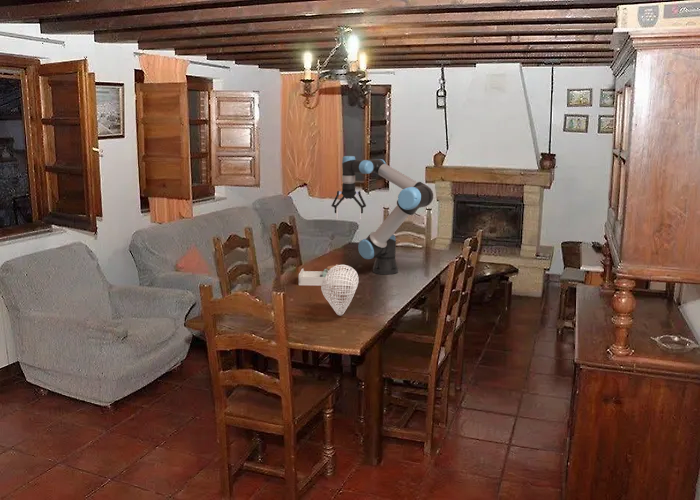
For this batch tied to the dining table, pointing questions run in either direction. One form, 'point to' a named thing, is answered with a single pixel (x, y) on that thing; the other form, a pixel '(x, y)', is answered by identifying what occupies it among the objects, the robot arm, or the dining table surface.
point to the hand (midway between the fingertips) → (348, 218)
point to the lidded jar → (334, 269)
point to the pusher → (324, 273)
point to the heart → (327, 283)
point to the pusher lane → (316, 278)
